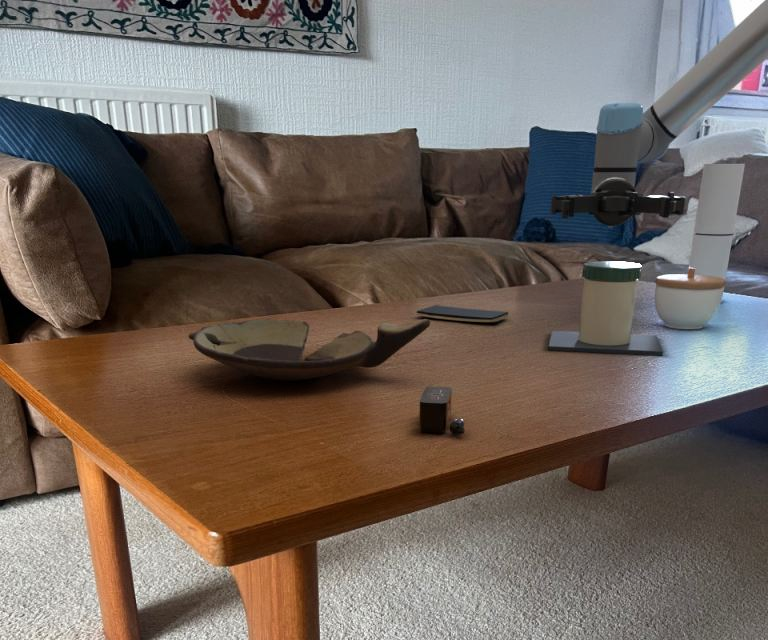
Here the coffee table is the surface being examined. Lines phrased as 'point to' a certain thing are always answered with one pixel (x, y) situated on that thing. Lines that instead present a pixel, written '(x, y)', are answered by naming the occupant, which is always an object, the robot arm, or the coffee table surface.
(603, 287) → the jar
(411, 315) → the coffee table surface
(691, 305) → the trinket box
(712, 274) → the cylindrical container
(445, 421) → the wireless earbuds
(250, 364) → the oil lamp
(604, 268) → the lid
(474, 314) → the smartphone
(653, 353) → the mat
